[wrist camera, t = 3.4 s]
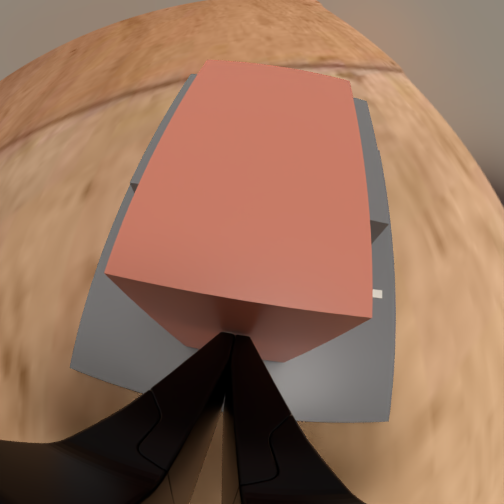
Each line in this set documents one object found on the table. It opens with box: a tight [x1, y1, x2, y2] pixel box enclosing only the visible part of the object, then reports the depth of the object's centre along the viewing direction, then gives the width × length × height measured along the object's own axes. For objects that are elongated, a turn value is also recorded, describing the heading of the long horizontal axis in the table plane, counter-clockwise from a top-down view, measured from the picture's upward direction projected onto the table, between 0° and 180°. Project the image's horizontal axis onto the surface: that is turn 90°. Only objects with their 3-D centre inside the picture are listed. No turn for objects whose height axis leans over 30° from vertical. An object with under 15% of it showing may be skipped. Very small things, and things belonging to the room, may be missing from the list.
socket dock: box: [70, 74, 396, 423], centre depth 15 cm, size 20×18×6 cm
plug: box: [104, 60, 373, 363], centre depth 11 cm, size 8×5×10 cm, turn 171°
